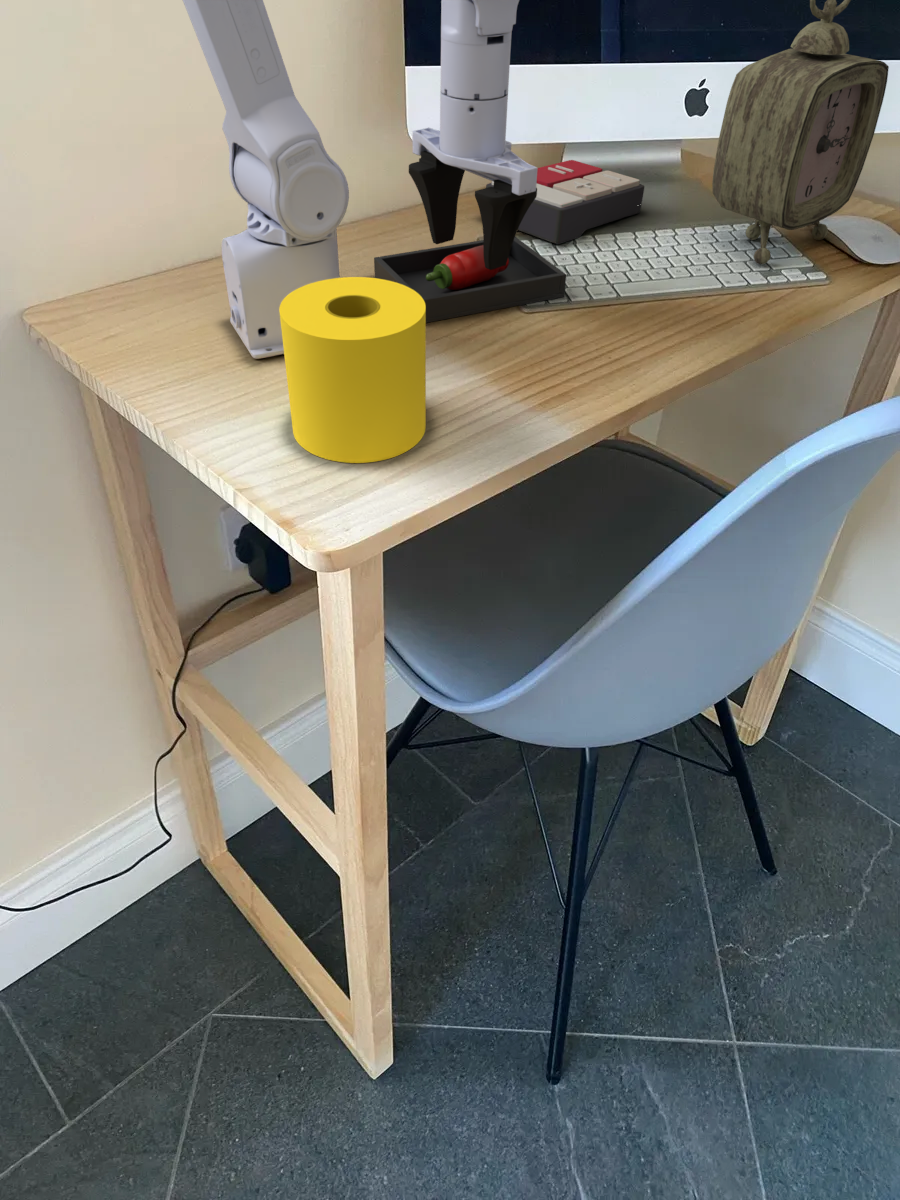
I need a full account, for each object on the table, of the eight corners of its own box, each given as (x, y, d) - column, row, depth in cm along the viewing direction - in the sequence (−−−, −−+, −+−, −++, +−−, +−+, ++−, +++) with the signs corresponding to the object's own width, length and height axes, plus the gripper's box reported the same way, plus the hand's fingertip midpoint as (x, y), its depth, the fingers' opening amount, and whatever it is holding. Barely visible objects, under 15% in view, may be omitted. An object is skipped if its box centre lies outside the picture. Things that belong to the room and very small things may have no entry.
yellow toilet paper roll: (449, 440, 68) (452, 320, 61) (326, 477, 64) (315, 352, 57) (388, 382, 74) (385, 267, 68) (272, 412, 70) (257, 293, 64)
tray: (417, 324, 82) (417, 301, 80) (374, 279, 89) (373, 257, 87) (564, 297, 87) (566, 274, 85) (512, 256, 94) (513, 234, 92)
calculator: (647, 178, 102) (563, 202, 93) (640, 218, 104) (557, 245, 96) (571, 155, 107) (484, 176, 99) (566, 194, 110) (481, 217, 101)
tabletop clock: (763, 275, 91) (838, -25, 75) (691, 248, 96) (746, -38, 80) (841, 241, 98) (926, -39, 82) (770, 217, 103) (836, -51, 87)
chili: (436, 304, 84) (437, 270, 82) (415, 291, 86) (415, 258, 84) (516, 277, 89) (519, 244, 87) (494, 266, 91) (496, 234, 89)
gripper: (569, 103, 74) (553, 267, 83) (455, 68, 82) (451, 221, 92) (505, 117, 71) (496, 286, 80) (393, 79, 79) (396, 237, 88)
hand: (468, 253), depth 86 cm, fingers open, 7 cm apart
